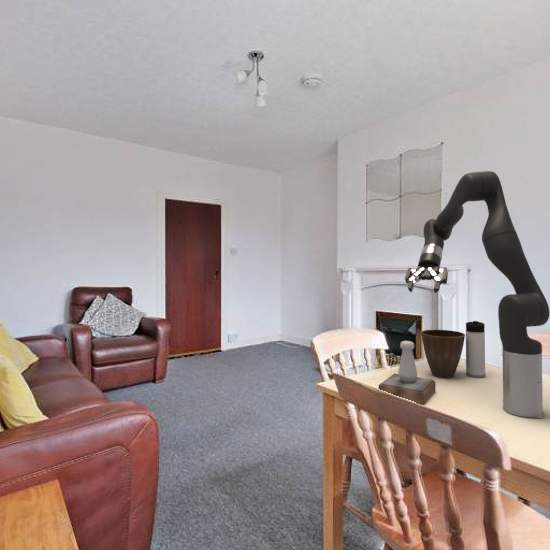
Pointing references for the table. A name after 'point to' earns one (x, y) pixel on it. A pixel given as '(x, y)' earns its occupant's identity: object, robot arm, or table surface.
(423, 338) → the plant pot
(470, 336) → the travel mug
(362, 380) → the table surface
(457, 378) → the table surface
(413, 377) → the salt shaker
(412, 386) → the plinth
